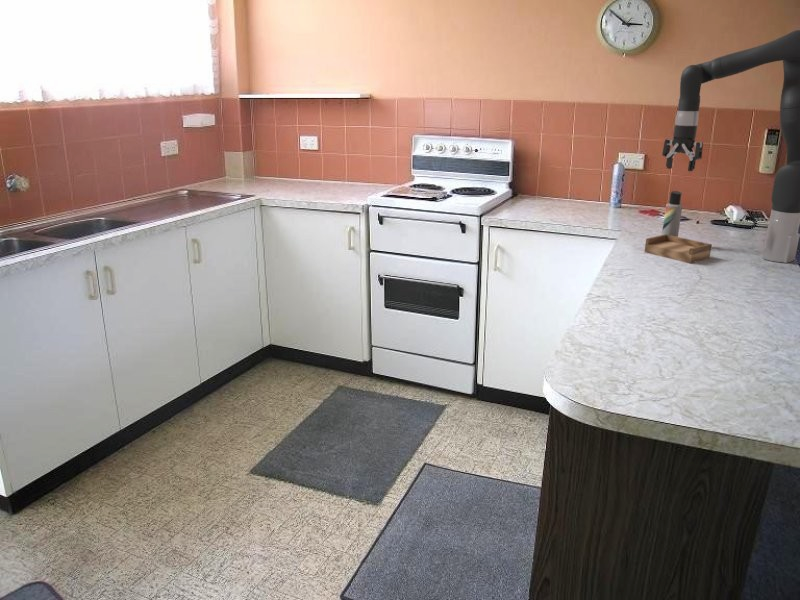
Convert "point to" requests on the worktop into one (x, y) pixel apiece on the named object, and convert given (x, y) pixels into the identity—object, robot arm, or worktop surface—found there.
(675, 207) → the lotion bottle
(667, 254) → the wooden serving tray
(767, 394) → the worktop surface
